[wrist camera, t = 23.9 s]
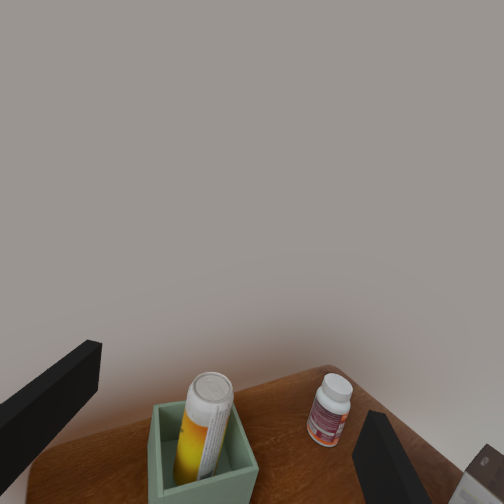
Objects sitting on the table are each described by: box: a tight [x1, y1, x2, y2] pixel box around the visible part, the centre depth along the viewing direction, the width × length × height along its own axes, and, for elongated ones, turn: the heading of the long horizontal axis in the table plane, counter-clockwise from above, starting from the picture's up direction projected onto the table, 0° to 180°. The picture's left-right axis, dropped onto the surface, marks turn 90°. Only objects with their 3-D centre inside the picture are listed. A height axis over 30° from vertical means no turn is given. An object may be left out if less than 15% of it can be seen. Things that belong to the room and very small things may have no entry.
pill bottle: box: [307, 373, 353, 447], centre depth 47 cm, size 6×6×11 cm
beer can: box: [173, 372, 234, 486], centre depth 35 cm, size 6×6×15 cm
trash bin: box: [148, 400, 259, 504], centre depth 36 cm, size 12×12×8 cm
